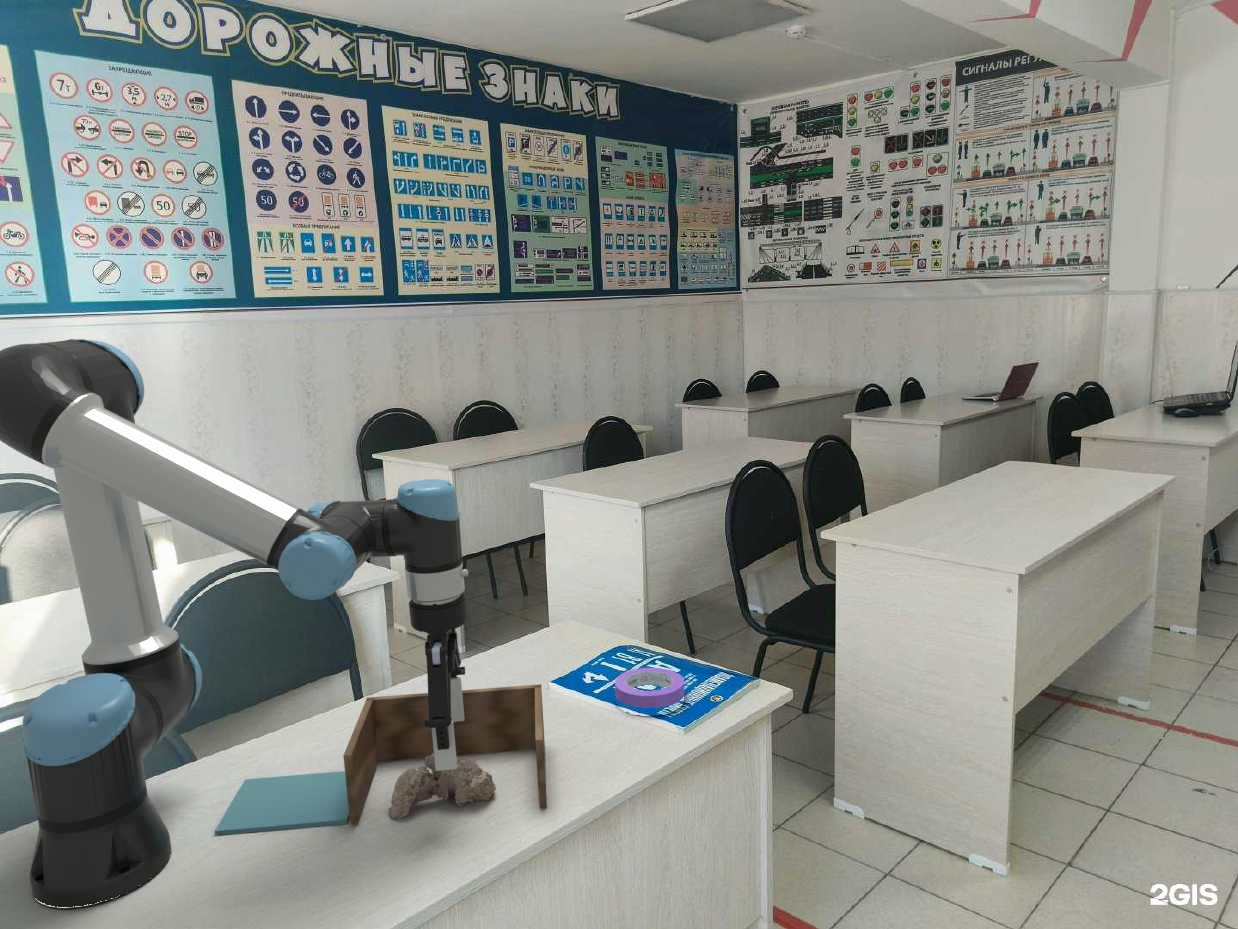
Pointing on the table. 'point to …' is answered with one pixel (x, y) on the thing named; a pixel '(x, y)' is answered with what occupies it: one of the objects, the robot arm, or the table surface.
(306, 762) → the table surface
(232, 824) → the teal rubber mat
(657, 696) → the masking tape
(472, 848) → the table surface
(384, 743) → the walnut cubby
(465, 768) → the rock
